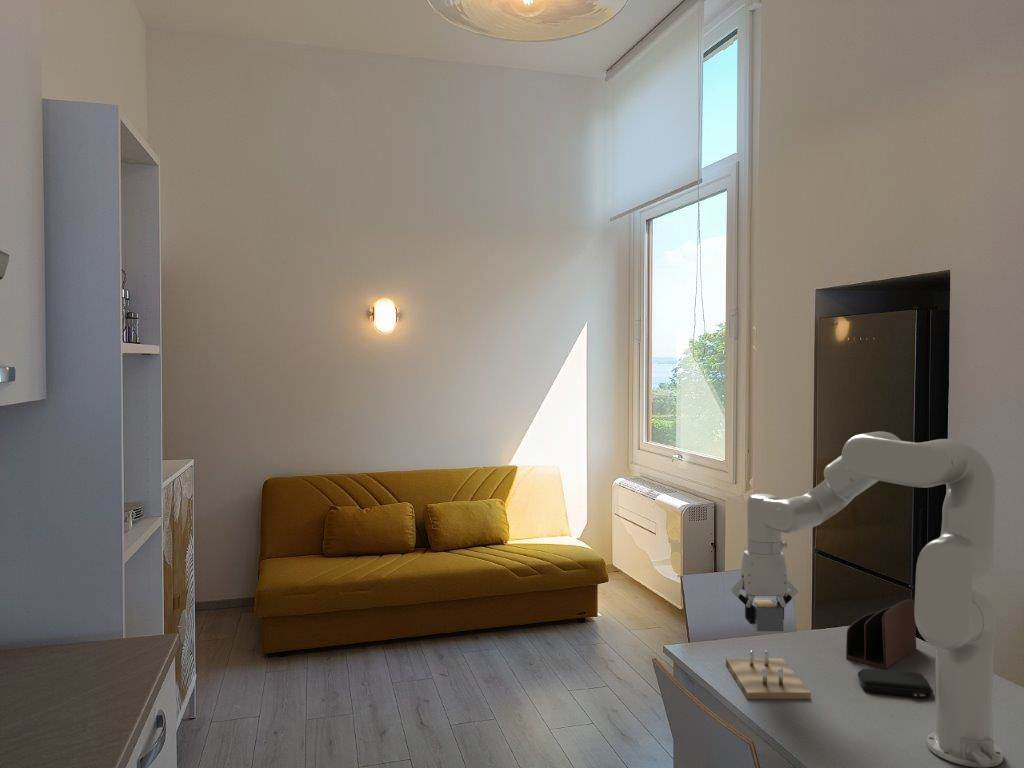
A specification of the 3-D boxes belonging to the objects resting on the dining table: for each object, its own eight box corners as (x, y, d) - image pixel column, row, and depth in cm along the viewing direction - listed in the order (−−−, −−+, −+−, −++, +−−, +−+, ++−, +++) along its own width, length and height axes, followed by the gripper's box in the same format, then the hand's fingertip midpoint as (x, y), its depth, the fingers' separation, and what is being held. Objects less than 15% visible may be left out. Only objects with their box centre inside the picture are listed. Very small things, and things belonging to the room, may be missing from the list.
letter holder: (916, 649, 197) (916, 595, 197) (886, 670, 184) (885, 613, 184) (877, 639, 205) (877, 587, 205) (845, 659, 191) (844, 604, 191)
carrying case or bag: (863, 696, 170) (936, 704, 166) (863, 683, 170) (936, 690, 166) (856, 677, 180) (925, 684, 176) (856, 665, 180) (924, 671, 176)
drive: (746, 618, 183) (746, 597, 183) (771, 618, 183) (771, 597, 183) (757, 631, 174) (757, 609, 174) (783, 631, 174) (783, 609, 174)
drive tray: (810, 699, 169) (810, 677, 169) (747, 699, 169) (747, 677, 169) (782, 664, 189) (782, 644, 188) (725, 664, 189) (725, 644, 189)
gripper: (795, 543, 182) (796, 617, 182) (723, 543, 182) (724, 617, 183) (806, 550, 174) (806, 628, 175) (731, 551, 175) (731, 627, 175)
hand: (764, 621), depth 179 cm, fingers closed on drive, 6 cm apart
